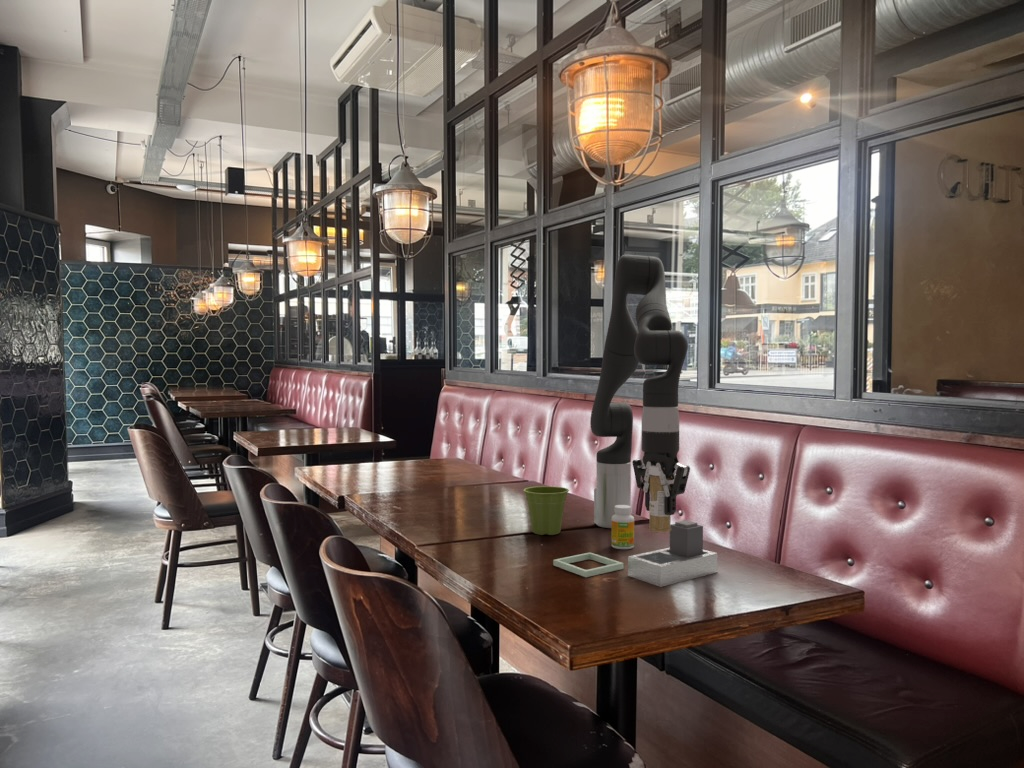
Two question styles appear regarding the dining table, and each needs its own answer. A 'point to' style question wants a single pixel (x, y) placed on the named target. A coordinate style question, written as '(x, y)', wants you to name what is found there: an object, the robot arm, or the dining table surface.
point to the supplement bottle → (622, 528)
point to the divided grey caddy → (670, 566)
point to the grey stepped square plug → (686, 539)
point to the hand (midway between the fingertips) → (660, 512)
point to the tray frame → (610, 566)
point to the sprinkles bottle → (657, 503)
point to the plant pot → (546, 508)
